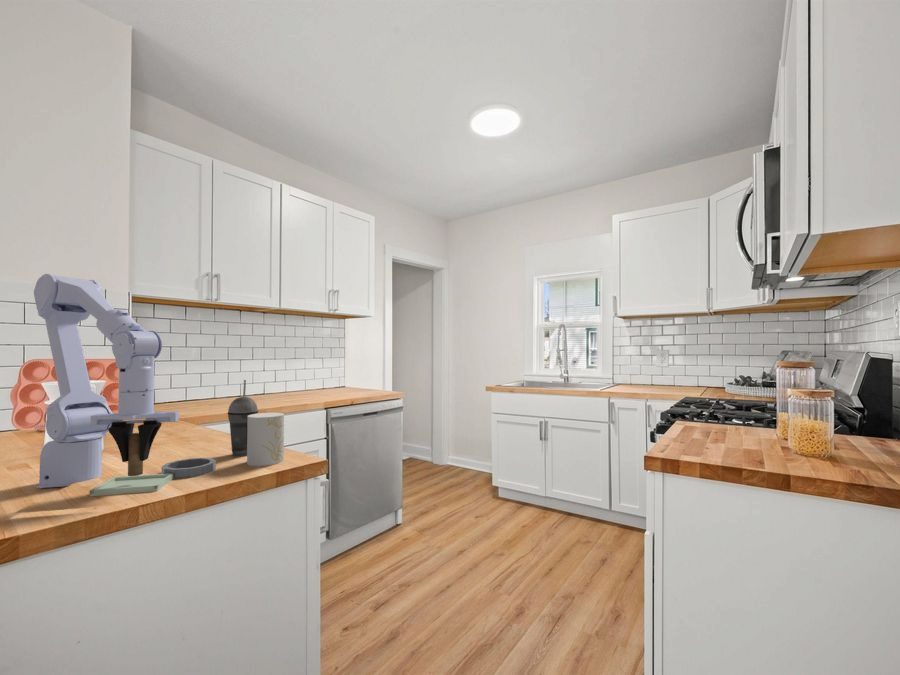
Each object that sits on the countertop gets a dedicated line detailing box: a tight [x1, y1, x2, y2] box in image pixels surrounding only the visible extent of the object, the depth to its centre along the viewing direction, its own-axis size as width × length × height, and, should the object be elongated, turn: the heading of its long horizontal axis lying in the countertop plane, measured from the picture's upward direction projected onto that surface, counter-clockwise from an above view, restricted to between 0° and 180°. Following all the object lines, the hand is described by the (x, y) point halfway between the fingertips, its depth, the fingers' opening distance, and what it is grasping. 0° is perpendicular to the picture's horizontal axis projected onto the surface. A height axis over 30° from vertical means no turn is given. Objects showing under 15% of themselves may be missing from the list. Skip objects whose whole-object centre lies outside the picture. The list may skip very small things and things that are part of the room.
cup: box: [246, 412, 285, 467], centre depth 105 cm, size 8×8×12 cm
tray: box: [89, 473, 174, 497], centre depth 86 cm, size 11×9×2 cm
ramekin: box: [160, 457, 217, 480], centre depth 96 cm, size 10×10×3 cm
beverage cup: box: [227, 379, 259, 457], centre depth 113 cm, size 7×7×20 cm
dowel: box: [127, 432, 144, 476], centre depth 86 cm, size 2×2×8 cm
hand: (135, 460), depth 86 cm, fingers closed on dowel, 2 cm apart
